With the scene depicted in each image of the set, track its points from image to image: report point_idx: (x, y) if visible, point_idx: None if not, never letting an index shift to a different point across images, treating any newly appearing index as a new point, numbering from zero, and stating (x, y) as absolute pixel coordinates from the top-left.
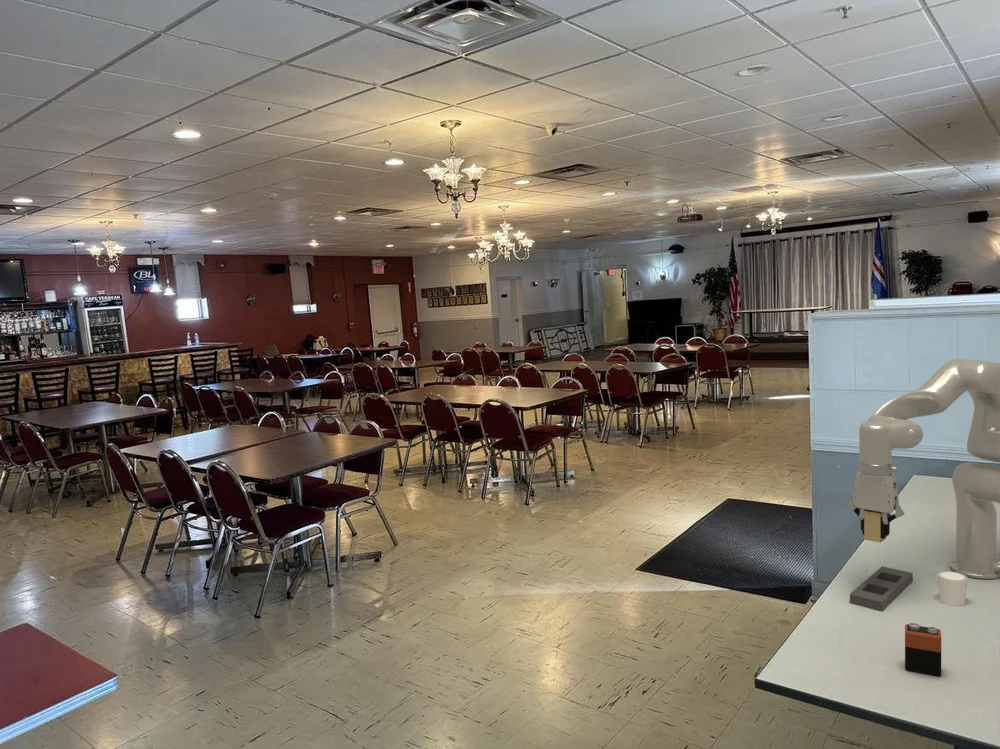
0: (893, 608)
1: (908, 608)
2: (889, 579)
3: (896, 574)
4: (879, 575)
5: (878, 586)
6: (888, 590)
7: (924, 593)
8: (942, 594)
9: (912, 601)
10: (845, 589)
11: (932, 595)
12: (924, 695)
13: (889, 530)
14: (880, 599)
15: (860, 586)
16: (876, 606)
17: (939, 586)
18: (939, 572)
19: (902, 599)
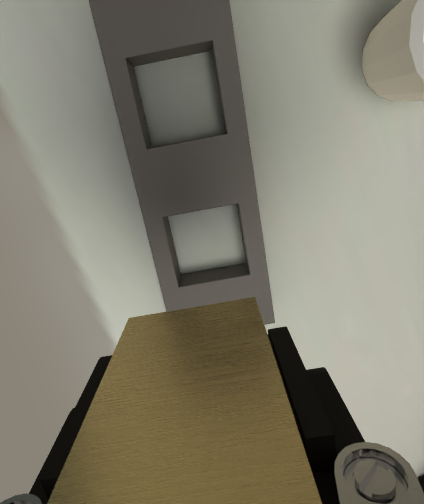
0: (282, 264)
1: (315, 231)
2: (161, 57)
3: (183, 34)
4: (133, 88)
5: (198, 210)
6: (243, 222)
7: (304, 64)
8: (399, 97)
9: (302, 170)
10: (104, 246)
11: (333, 59)
12: None
13: (335, 392)
14: (261, 307)
15: (159, 262)
16: None
17: (400, 86)
18: (417, 24)
19: (271, 180)
